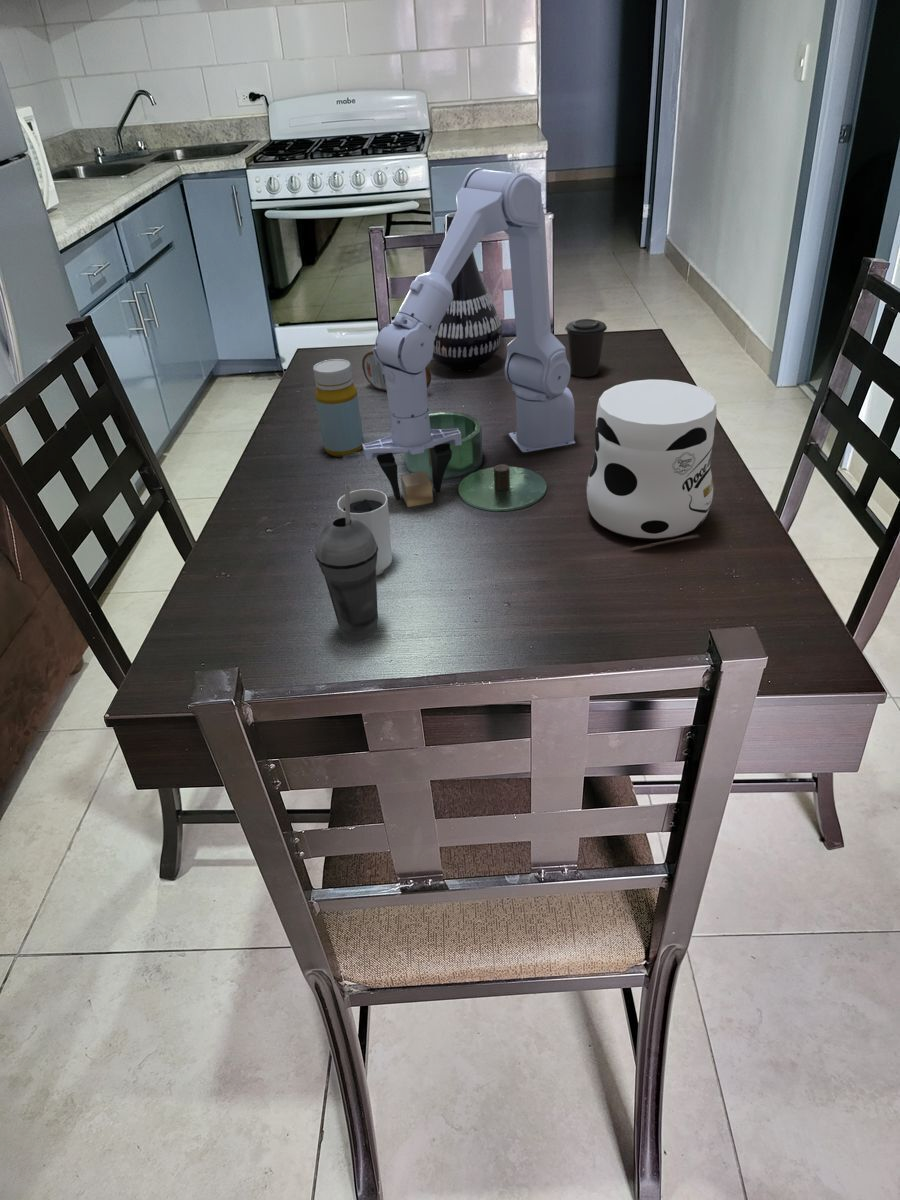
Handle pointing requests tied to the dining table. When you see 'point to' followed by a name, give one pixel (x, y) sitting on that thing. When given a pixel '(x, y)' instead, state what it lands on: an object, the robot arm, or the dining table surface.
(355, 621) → the beverage cup
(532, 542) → the dining table surface
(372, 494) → the white cylindrical cup
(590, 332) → the coffee cup
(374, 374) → the tin
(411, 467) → the jar
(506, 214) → the robot arm
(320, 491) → the dining table surface
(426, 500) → the block
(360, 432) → the bottle
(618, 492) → the milk container
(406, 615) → the dining table surface
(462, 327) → the vase
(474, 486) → the lid
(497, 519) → the dining table surface
